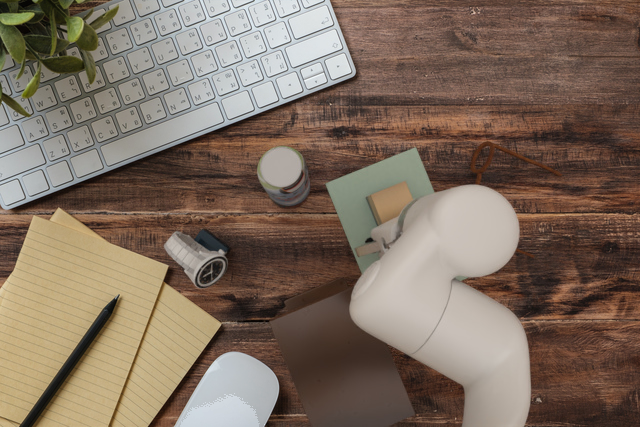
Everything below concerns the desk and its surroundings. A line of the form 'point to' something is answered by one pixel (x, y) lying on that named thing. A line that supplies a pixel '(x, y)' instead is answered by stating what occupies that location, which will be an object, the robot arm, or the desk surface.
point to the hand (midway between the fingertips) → (398, 230)
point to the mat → (367, 181)
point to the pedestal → (338, 362)
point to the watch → (199, 256)
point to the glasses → (485, 166)
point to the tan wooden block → (389, 202)
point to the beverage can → (284, 176)
